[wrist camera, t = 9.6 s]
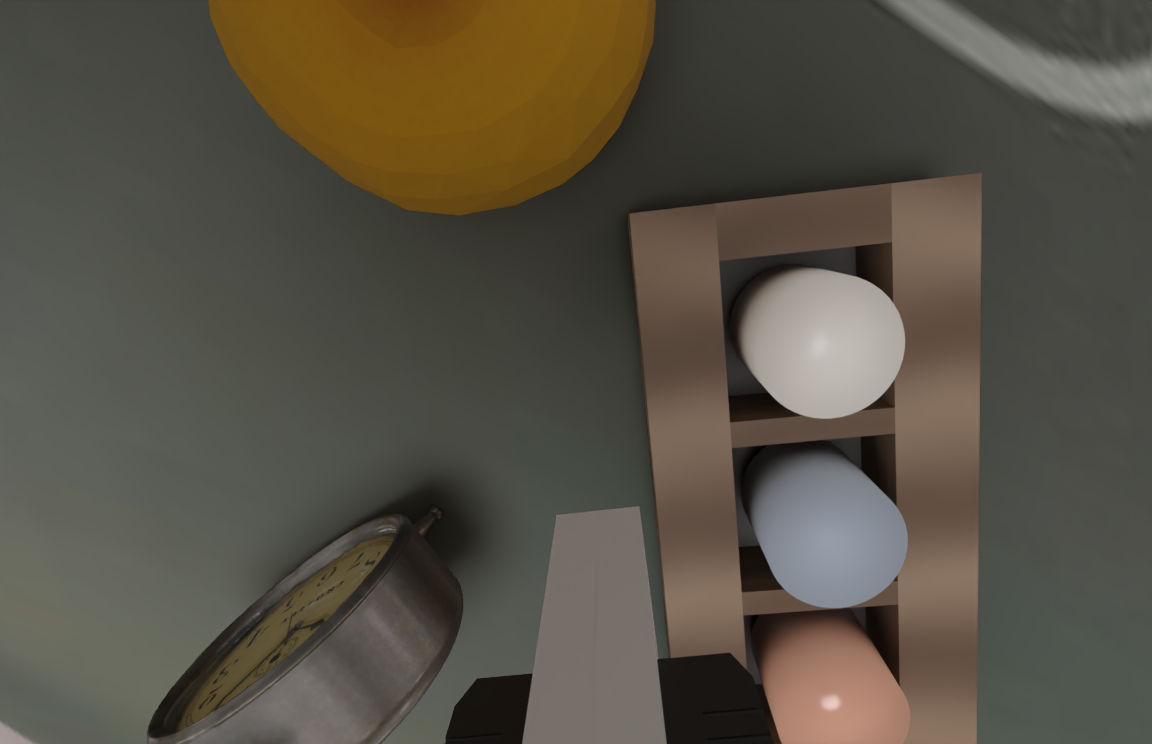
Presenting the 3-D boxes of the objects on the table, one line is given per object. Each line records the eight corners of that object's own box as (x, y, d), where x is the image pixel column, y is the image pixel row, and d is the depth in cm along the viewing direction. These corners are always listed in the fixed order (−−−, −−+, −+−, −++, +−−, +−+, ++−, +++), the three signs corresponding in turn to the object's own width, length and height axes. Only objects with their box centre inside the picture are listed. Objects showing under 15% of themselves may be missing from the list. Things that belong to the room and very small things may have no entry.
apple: (606, 246, 29) (602, 262, 18) (301, 176, 29) (104, 149, 18) (684, -96, 26) (739, -335, 15) (346, -173, 26) (146, -469, 15)
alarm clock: (439, 466, 31) (260, 721, 15) (508, 559, 32) (407, 892, 16) (256, 585, 33) (-74, 924, 17) (325, 671, 34) (73, 1070, 18)
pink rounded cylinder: (747, 595, 30) (773, 667, 25) (860, 586, 30) (909, 658, 25) (753, 692, 31) (780, 780, 26) (863, 685, 31) (911, 773, 26)
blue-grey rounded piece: (737, 441, 29) (762, 486, 24) (856, 430, 28) (907, 474, 23) (744, 548, 30) (770, 612, 25) (859, 539, 29) (908, 603, 24)
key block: (626, 214, 28) (629, 213, 24) (929, 179, 27) (981, 172, 24) (675, 723, 33) (683, 790, 29) (932, 707, 32) (976, 774, 29)
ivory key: (725, 271, 27) (750, 282, 22) (851, 257, 27) (904, 266, 22) (733, 389, 28) (759, 425, 23) (854, 377, 28) (906, 411, 23)
